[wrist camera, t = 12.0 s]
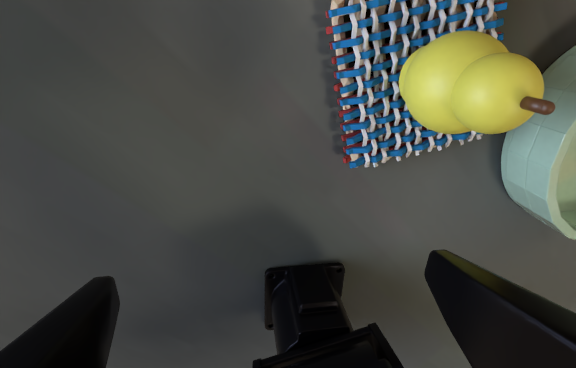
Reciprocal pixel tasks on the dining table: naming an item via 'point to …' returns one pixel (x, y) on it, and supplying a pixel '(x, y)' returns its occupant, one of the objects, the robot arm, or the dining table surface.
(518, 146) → the pan
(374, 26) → the woven mat
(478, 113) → the pear
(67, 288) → the dining table surface
